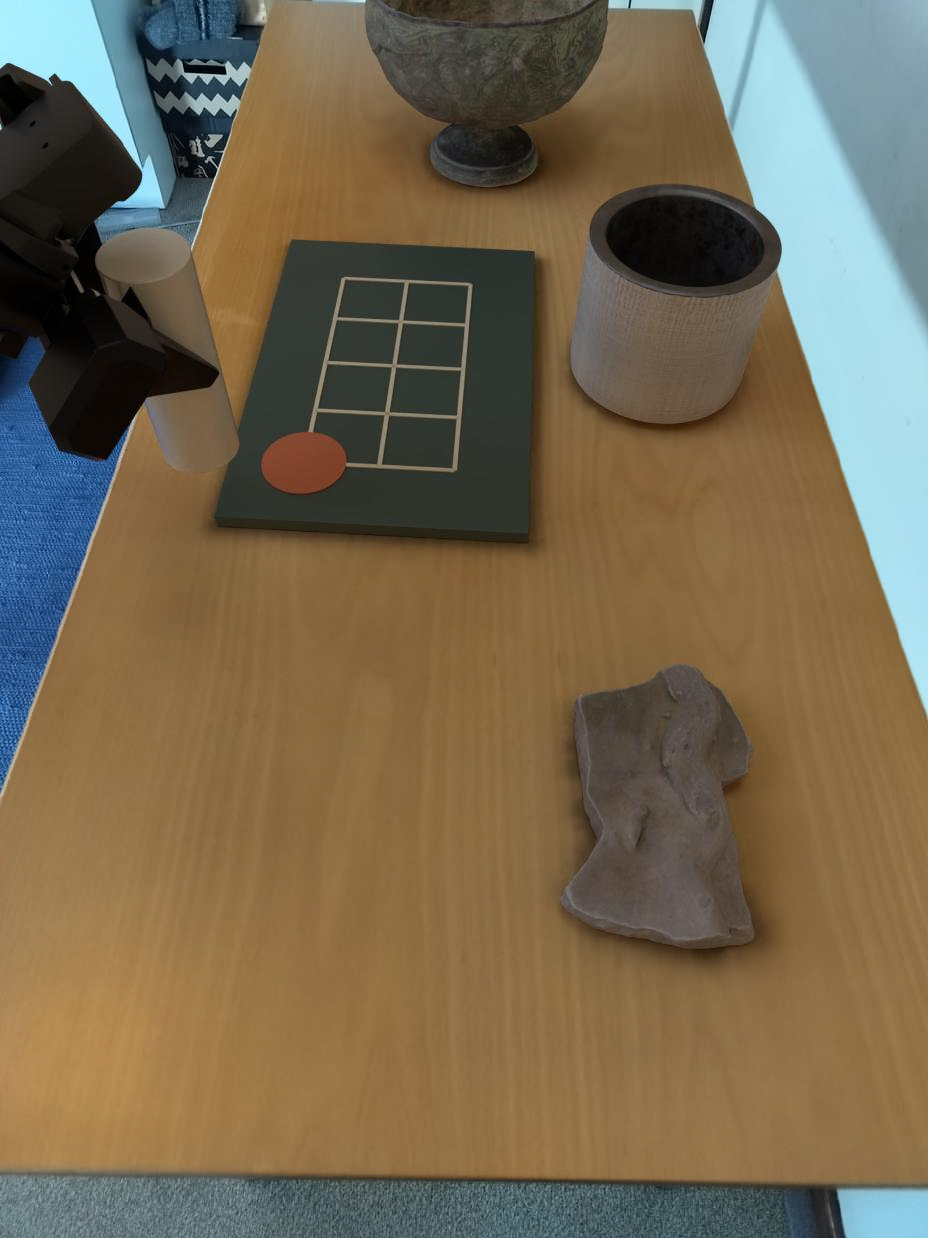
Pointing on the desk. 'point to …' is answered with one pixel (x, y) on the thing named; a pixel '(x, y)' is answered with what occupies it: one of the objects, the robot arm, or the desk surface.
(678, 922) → the stone
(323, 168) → the desk surface
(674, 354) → the planter
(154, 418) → the white upright cylinder
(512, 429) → the board
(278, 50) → the desk surface
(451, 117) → the bowl
